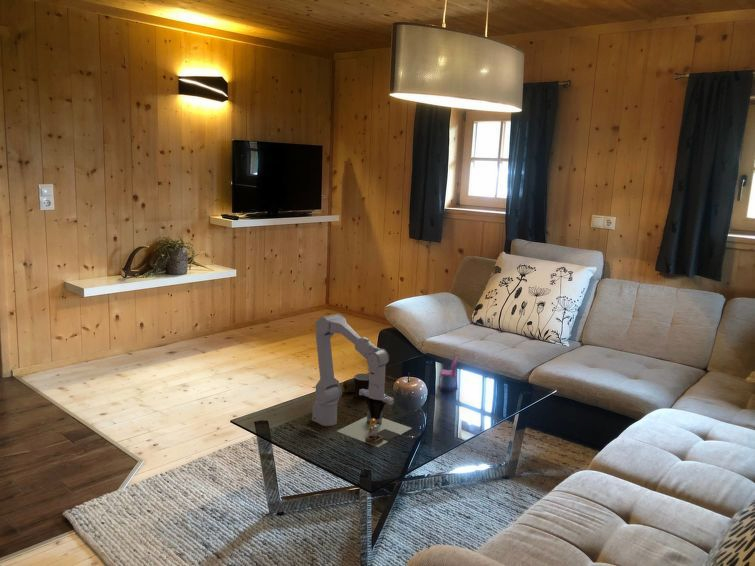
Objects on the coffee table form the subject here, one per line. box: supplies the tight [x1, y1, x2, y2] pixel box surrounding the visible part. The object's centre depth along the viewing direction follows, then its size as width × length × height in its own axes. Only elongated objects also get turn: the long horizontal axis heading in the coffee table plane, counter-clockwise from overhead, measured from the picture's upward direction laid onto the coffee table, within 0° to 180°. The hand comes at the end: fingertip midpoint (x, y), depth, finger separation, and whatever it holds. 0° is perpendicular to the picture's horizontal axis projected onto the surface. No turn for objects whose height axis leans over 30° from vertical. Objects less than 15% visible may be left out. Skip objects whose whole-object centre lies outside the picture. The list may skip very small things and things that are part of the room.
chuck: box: [366, 409, 383, 425], centre depth 242 cm, size 6×6×6 cm
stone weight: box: [342, 377, 355, 394], centre depth 278 cm, size 15×7×7 cm, turn 127°
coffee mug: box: [353, 372, 369, 400], centre depth 270 cm, size 12×9×10 cm
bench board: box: [336, 416, 413, 448], centre depth 237 cm, size 20×22×1 cm
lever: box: [369, 418, 376, 431], centre depth 236 cm, size 6×3×4 cm, turn 176°
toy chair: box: [438, 356, 459, 391], centre depth 287 cm, size 8×9×15 cm
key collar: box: [365, 435, 384, 445], centre depth 227 cm, size 5×5×2 cm
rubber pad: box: [378, 429, 401, 442], centre depth 232 cm, size 7×7×1 cm
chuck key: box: [371, 425, 379, 440], centre depth 226 cm, size 2×4×6 cm, turn 143°
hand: (375, 417), depth 225 cm, fingers closed
